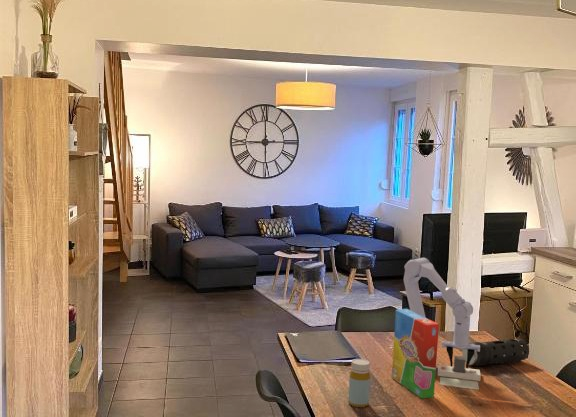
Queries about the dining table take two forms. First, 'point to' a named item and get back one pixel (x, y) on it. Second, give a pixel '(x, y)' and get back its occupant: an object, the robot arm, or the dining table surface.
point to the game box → (415, 352)
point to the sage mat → (459, 383)
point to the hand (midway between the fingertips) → (459, 366)
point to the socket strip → (468, 373)
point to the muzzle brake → (498, 352)
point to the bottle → (359, 383)
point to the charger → (459, 364)
